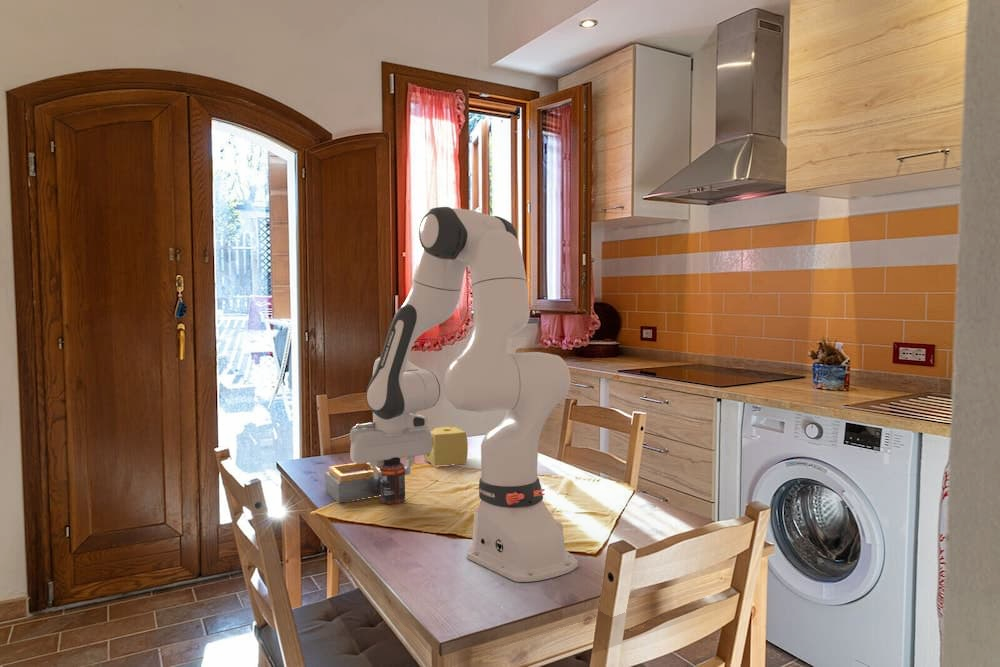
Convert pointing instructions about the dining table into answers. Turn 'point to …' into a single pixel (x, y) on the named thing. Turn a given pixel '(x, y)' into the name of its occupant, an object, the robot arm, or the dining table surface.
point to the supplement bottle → (392, 481)
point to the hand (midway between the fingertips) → (392, 476)
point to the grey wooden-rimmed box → (352, 482)
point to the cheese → (448, 446)
